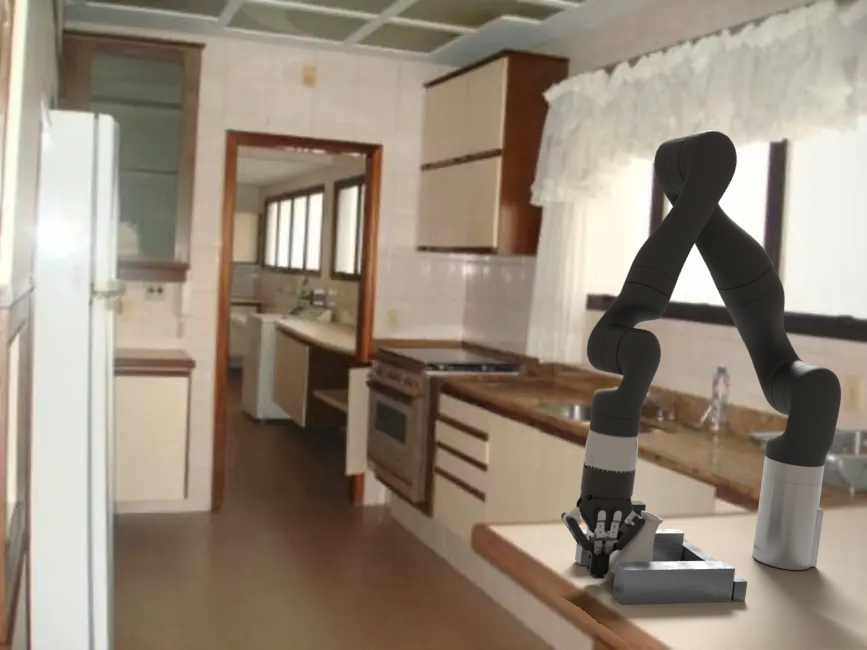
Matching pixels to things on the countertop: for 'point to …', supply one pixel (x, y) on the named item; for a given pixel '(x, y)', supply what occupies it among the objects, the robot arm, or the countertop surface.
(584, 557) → the vise jaw sliding
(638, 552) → the flask
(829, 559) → the countertop surface
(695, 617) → the countertop surface
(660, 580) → the vise fixed
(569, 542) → the countertop surface
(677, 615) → the countertop surface
